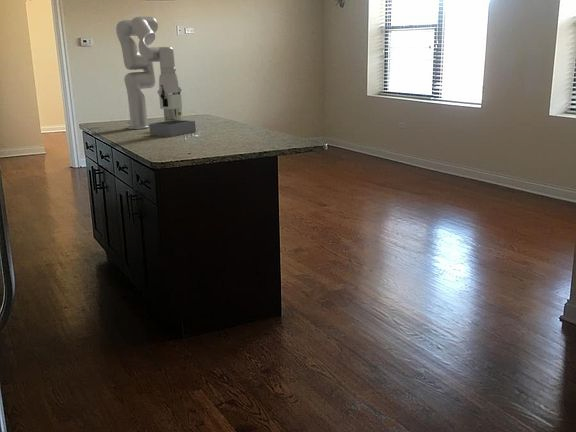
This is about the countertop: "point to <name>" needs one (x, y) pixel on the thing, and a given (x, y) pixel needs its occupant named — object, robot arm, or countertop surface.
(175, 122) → the charcoal crate
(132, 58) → the robot arm
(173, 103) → the sage crate
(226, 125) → the countertop surface
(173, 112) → the coffee can
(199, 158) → the countertop surface
